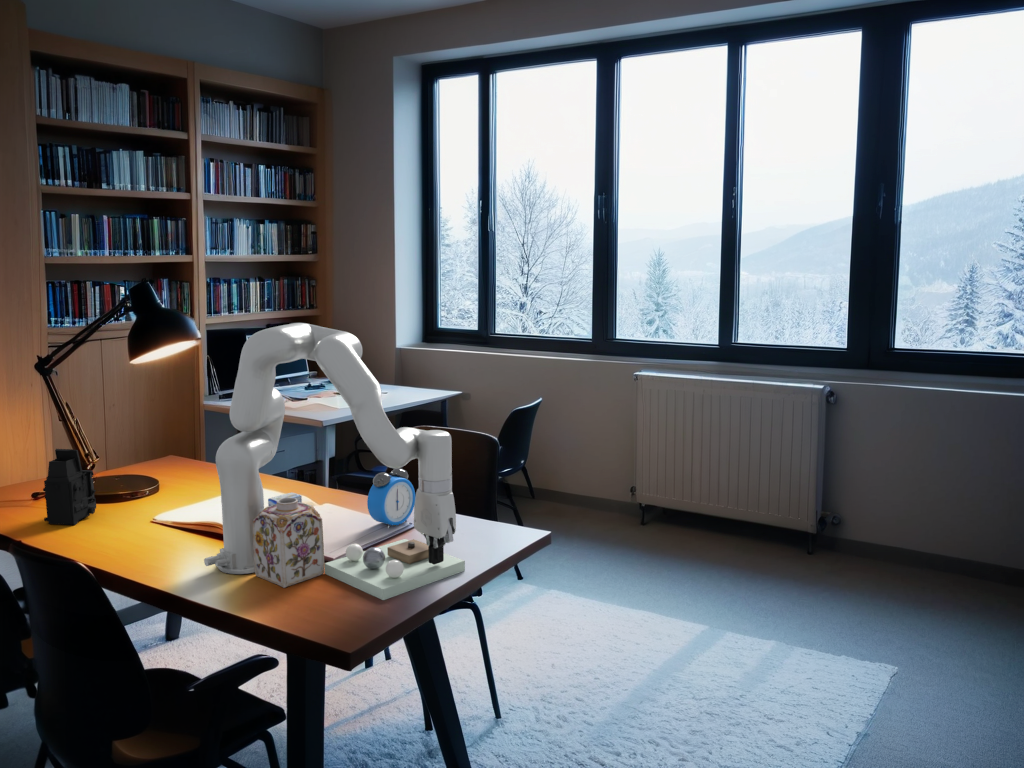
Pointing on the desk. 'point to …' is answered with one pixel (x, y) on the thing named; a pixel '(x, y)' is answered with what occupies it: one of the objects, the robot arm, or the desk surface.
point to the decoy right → (394, 568)
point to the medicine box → (289, 495)
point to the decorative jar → (288, 543)
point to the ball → (373, 558)
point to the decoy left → (354, 552)
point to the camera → (68, 489)
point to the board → (386, 586)
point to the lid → (409, 551)
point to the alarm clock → (391, 497)
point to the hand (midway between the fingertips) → (436, 562)
